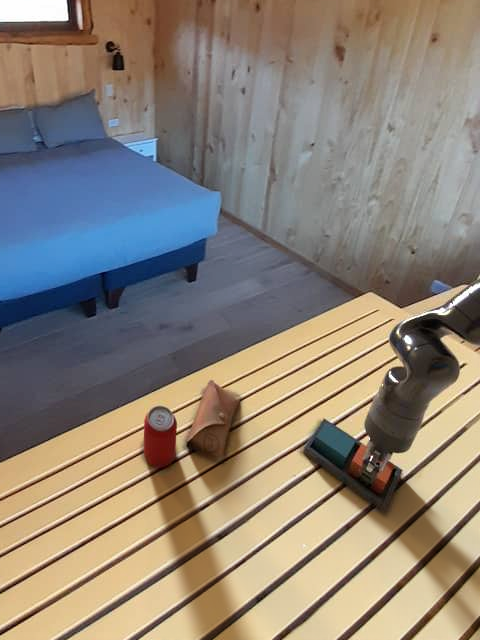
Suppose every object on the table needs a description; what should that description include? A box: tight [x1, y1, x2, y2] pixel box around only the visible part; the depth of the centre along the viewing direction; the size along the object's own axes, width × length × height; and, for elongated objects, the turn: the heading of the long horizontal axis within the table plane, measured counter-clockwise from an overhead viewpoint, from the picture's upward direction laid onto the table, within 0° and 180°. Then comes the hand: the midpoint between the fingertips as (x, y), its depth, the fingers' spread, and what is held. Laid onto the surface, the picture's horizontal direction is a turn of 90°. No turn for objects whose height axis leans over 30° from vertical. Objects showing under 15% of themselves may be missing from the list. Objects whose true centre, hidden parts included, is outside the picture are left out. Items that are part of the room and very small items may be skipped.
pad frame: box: [302, 418, 404, 513], centre depth 83 cm, size 16×10×3 cm, turn 43°
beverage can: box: [143, 405, 178, 468], centre depth 84 cm, size 7×7×12 cm
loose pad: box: [348, 443, 396, 495], centre depth 80 cm, size 6×5×4 cm
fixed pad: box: [313, 422, 355, 469], centre depth 85 cm, size 6×5×4 cm
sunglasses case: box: [186, 379, 241, 459], centre depth 92 cm, size 18×7×7 cm, turn 154°
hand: (369, 473), depth 81 cm, fingers closed on loose pad, 5 cm apart
